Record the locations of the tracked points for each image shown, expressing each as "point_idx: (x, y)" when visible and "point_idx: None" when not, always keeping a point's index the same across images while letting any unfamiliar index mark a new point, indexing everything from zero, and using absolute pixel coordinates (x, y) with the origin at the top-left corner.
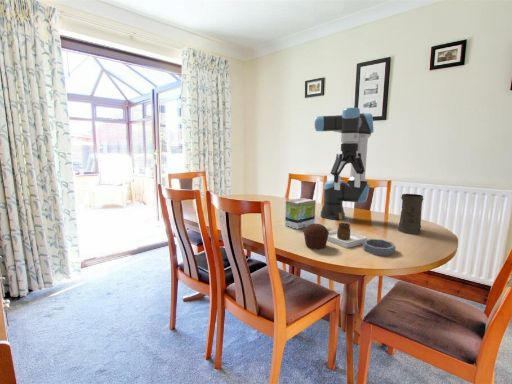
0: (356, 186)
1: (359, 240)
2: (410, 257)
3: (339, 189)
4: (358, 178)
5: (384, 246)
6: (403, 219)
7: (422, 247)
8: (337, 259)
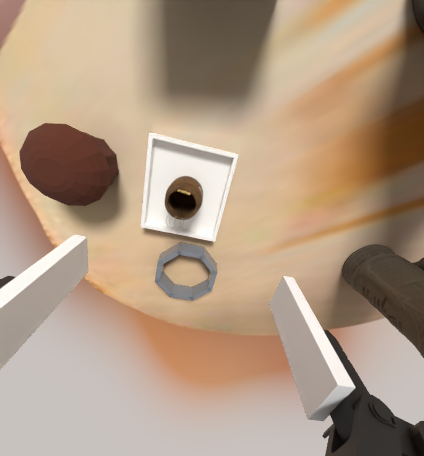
0: (277, 293)
1: (187, 235)
2: (195, 309)
3: (82, 273)
4: (293, 361)
5: (210, 271)
6: (371, 280)
7: (261, 308)
8: None
